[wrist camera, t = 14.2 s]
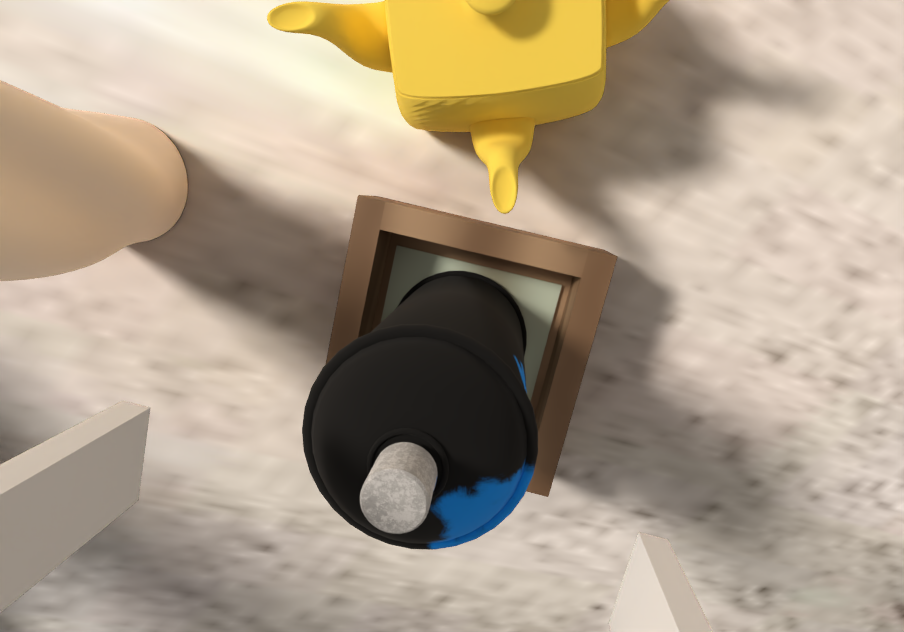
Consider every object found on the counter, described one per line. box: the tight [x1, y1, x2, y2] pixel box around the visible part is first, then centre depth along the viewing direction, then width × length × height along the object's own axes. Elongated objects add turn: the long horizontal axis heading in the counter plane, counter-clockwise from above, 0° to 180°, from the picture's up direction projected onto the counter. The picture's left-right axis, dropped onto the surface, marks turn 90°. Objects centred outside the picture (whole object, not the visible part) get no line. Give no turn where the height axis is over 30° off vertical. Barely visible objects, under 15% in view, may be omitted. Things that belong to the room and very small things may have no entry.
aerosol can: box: [302, 271, 538, 549], centre depth 26 cm, size 8×8×20 cm
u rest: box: [326, 195, 617, 497], centre depth 35 cm, size 14×14×4 cm
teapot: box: [267, 0, 669, 214], centre depth 29 cm, size 15×14×10 cm
